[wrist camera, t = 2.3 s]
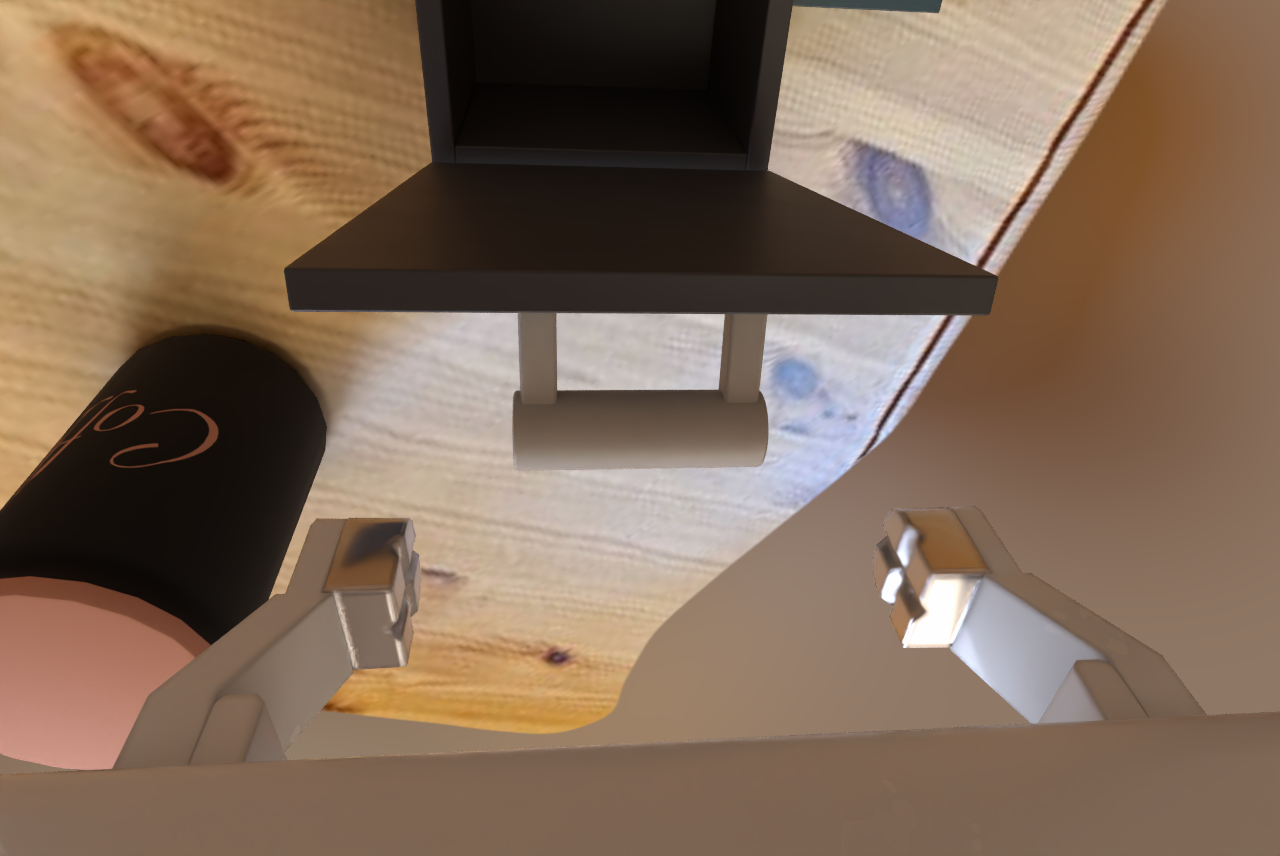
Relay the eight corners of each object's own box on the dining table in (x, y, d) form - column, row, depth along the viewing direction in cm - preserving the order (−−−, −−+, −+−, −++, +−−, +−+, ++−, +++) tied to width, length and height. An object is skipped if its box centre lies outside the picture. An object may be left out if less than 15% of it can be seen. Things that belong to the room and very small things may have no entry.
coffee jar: (277, 303, 39) (117, 567, 25) (363, 461, 45) (275, 743, 31) (77, 347, 39) (-194, 631, 25) (190, 497, 46) (25, 792, 32)
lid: (282, 268, 12) (322, 520, 14) (1000, 276, 13) (946, 507, 15) (430, 162, 26) (440, 294, 28) (770, 170, 27) (757, 297, 29)
